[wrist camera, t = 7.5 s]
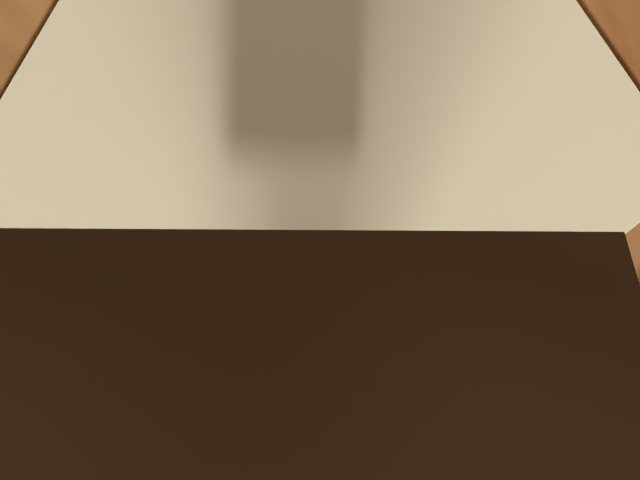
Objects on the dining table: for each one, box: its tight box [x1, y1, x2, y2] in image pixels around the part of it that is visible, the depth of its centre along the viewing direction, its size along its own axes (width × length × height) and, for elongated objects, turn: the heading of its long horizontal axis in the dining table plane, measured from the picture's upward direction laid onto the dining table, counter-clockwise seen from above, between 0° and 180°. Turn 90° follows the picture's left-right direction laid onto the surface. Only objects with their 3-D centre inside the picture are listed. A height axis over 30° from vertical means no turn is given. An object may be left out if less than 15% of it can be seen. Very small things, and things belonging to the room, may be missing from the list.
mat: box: [0, 0, 640, 234], centre depth 19 cm, size 28×24×1 cm
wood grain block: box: [0, 228, 640, 480], centre depth 9 cm, size 3×6×12 cm
